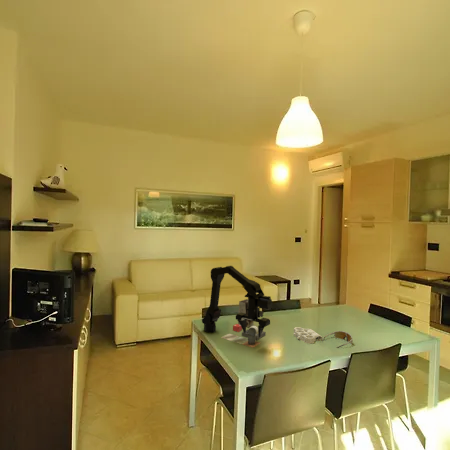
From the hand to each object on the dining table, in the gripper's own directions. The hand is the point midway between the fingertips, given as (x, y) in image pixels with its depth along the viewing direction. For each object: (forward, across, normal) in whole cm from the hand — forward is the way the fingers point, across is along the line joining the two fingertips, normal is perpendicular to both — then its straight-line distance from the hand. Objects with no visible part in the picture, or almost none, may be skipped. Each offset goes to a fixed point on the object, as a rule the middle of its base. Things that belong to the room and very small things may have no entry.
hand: (252, 334), depth 167 cm
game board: (+6, +7, 0) cm, 9 cm away
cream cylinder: (+5, +5, -11) cm, 13 cm away
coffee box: (+6, +19, -25) cm, 32 cm away
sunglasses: (+6, -35, -37) cm, 51 cm away
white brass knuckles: (+6, -18, -32) cm, 37 cm away
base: (+6, +5, -11) cm, 14 cm away
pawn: (+5, 0, 0) cm, 5 cm away
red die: (+6, +17, -12) cm, 22 cm away
